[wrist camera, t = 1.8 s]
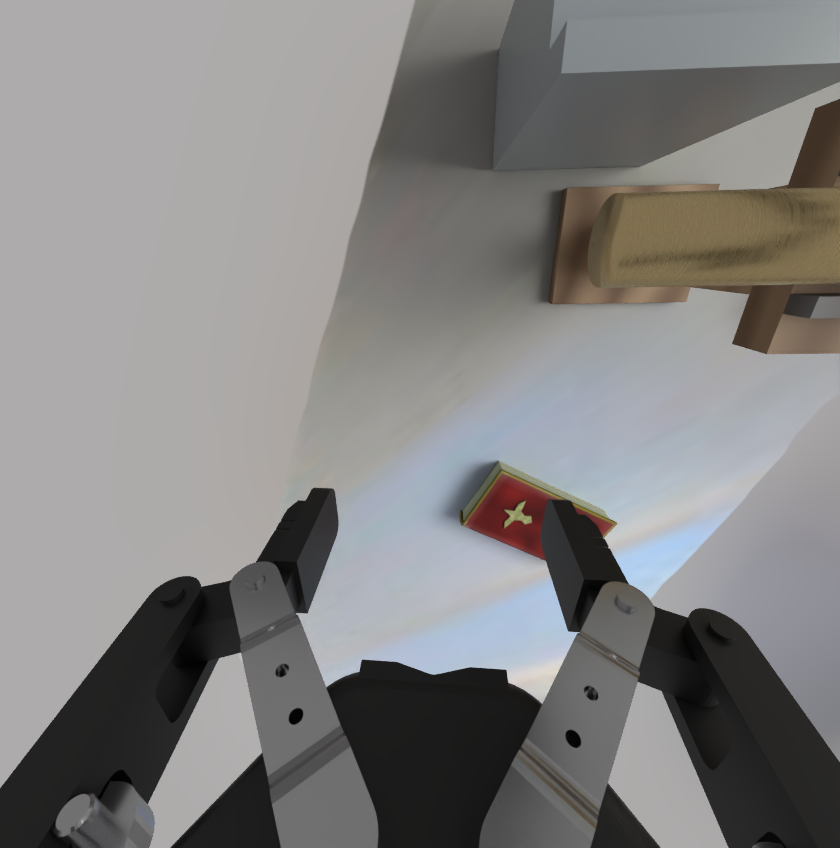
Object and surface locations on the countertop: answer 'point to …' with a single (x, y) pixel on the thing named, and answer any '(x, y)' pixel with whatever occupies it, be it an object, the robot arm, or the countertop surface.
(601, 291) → the walnut stand
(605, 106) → the grey cradle
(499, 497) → the hardcover book
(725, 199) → the brass rod
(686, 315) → the countertop surface
